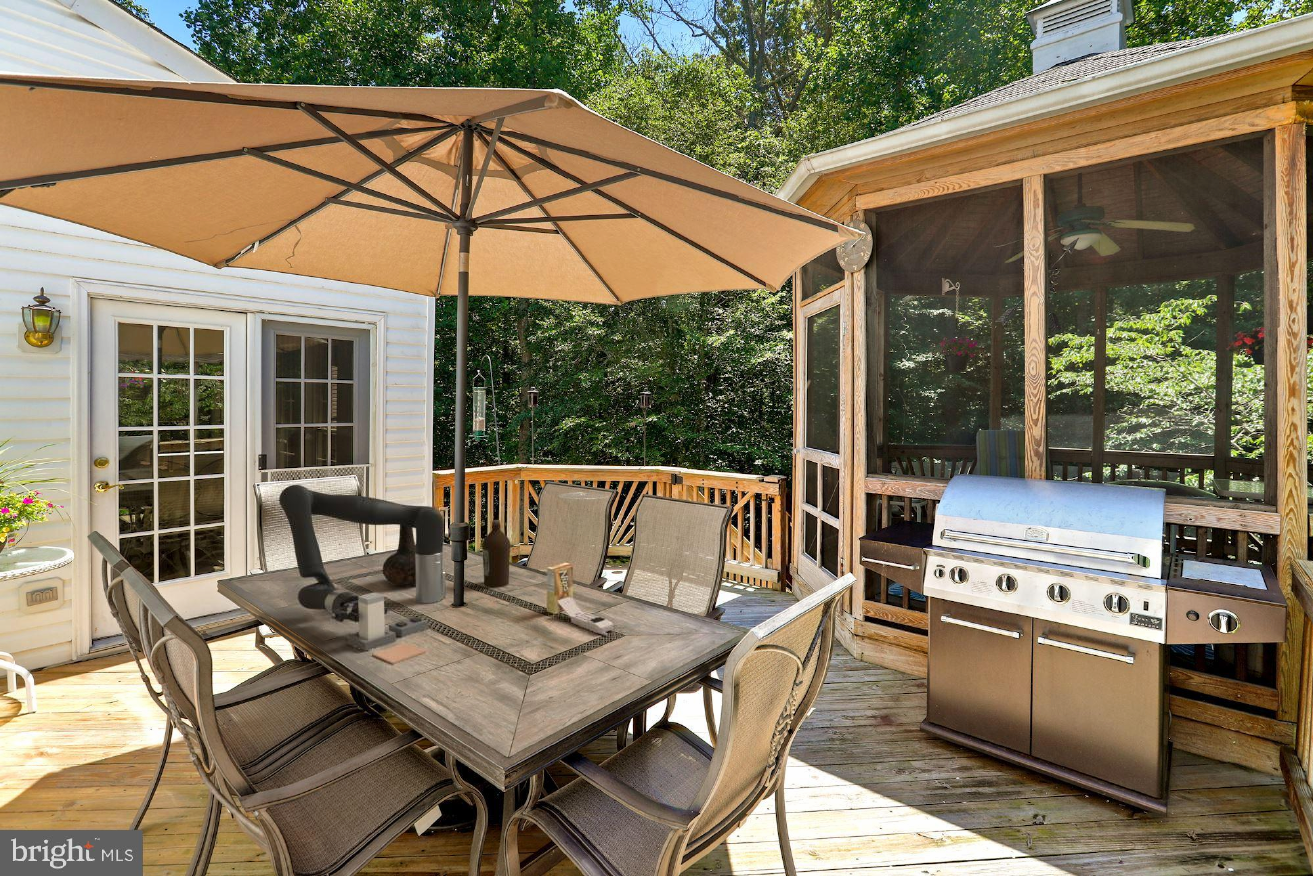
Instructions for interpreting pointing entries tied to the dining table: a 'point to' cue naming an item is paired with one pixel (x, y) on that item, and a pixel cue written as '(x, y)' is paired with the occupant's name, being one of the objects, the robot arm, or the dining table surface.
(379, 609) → the block
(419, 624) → the charging dock
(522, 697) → the dining table surface
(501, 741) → the dining table surface
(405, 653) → the coaster
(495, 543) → the olive oil
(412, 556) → the dark brown vase
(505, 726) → the dining table surface
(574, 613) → the mobile phone
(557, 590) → the candy box
